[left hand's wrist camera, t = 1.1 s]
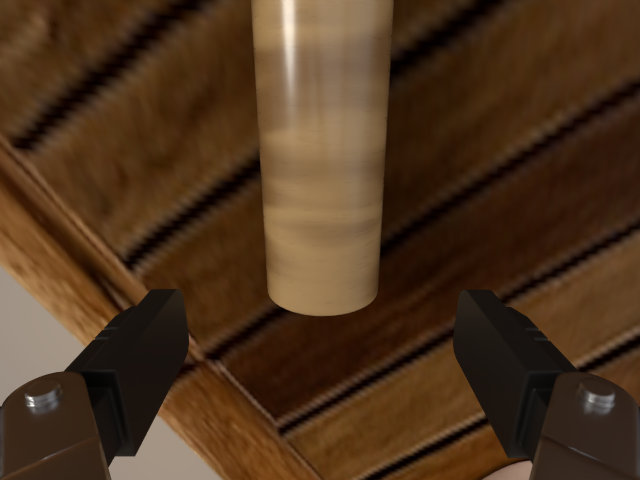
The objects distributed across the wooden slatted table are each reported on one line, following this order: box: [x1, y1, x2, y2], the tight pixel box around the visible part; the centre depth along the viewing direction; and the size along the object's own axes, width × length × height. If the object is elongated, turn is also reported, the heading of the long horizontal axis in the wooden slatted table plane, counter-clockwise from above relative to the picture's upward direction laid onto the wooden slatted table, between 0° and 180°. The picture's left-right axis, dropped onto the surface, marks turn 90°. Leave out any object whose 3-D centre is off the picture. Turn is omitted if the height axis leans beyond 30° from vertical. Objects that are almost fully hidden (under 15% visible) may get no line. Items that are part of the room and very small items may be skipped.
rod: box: [251, 0, 394, 316], centre depth 17 cm, size 25×6×6 cm, turn 0°
